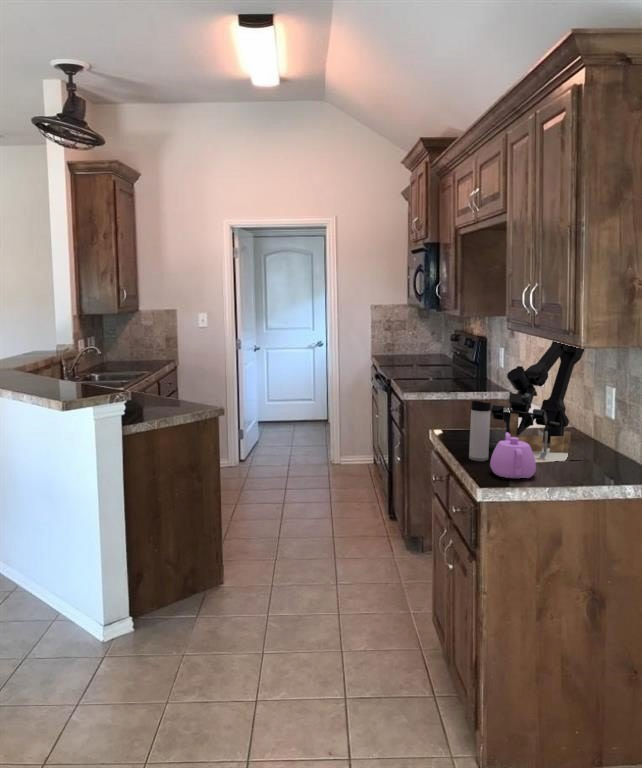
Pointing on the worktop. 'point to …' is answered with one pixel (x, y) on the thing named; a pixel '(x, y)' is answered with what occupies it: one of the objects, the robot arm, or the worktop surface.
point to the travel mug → (479, 431)
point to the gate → (533, 441)
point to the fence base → (558, 442)
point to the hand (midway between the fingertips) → (512, 434)
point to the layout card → (549, 456)
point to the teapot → (513, 459)
